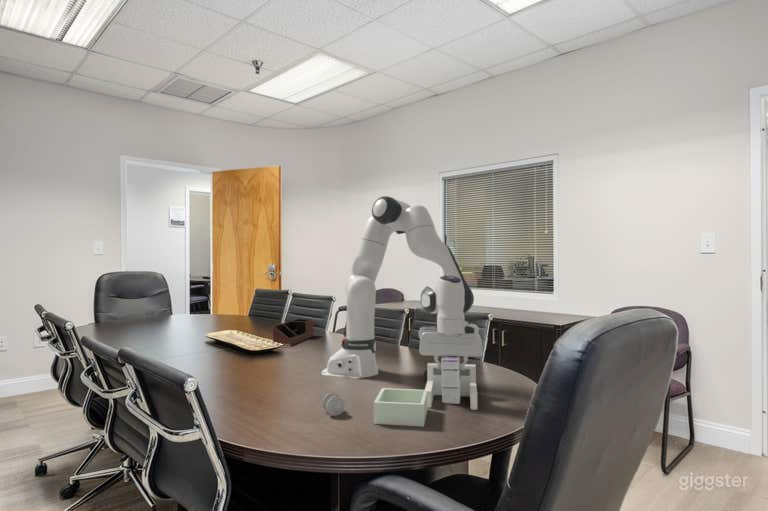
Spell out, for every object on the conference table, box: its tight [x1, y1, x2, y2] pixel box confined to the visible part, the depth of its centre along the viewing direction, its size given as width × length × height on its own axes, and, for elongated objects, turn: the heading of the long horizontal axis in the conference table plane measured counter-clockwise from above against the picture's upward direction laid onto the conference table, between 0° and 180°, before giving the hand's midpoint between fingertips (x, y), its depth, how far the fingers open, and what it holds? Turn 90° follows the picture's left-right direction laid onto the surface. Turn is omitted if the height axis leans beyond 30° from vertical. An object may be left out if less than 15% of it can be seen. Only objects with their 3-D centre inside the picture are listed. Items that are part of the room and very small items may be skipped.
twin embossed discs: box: [322, 391, 346, 416], centre depth 138 cm, size 6×4×6 cm
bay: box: [424, 362, 478, 411], centre depth 150 cm, size 16×16×10 cm
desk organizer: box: [272, 318, 314, 347], centre depth 250 cm, size 10×29×11 cm, turn 164°
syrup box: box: [440, 356, 462, 405], centre depth 149 cm, size 6×6×14 cm
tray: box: [373, 387, 428, 427], centre depth 135 cm, size 14×14×6 cm
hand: (450, 369), depth 149 cm, fingers closed on syrup box, 6 cm apart
